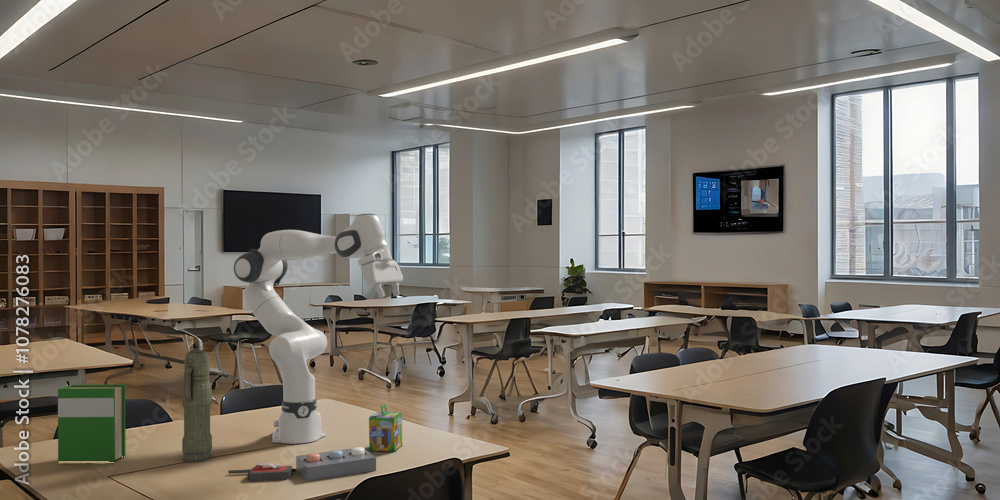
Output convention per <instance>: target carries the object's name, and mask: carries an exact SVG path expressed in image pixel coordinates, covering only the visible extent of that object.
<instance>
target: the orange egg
mask: <svg viewBox="0 0 1000 500" xmlns="http://www.w3.org/2000/svg"><path fill="white" fill-rule="evenodd" d="M318 453H319V452H317V453H316V452H312V453H308V454H305V455H306V462H307V463H312V462H319V461H320V454H318Z"/></svg>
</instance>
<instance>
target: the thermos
mask: <svg viewBox="0 0 1000 500" xmlns="http://www.w3.org/2000/svg"><path fill="white" fill-rule="evenodd" d="M183 361H184V362H183V363H184V365H183V366H184V367H183V368H184V372H183V373H184V376H183V377H184V381H183V387H182V389H181V390H182V396H181V398H182V408H183V432H184V433H183V437H182V441H181V447H182V448H181V449H182V451H181V452H182V461H183V462H186V463H197V462H205V461H208V460H210V459H211V458H212V449H213V436H212V432H211V406H212V405H211V404H212V403H213V402H212V400H213V399H212V398H213V397H212V396H213V395H212V393H213V392H212V390H213V389H212V385H211V381H210V380H211V379H210V372H211V371H210V369H211V368H210V356H209V353H208V351H205V350H203V349H202V350H201V349H200V350H199V349H197V350H189V352H187V353H186V355H185V357H184V360H183Z"/></svg>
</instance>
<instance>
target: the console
mask: <svg viewBox="0 0 1000 500" xmlns="http://www.w3.org/2000/svg"><path fill="white" fill-rule="evenodd" d="M352 448H353V447H352ZM352 448H344V449H340V450H341V451H343V458H340V459H333V460H330V459H329V452H330V451H331V450H330V451H323V452H317V453H318V454H320V461H319V462H312V463H307V462H306V455H307V454H300V455H296V456H295V466H296V467H295V469H296V470H297V472H298V473H299V474H300V475H301V476H302V478H304V479H305V481H306V482H310V481H311V482H312V481H317V480H323V479H330V478H337V477H343V476H350V475H356V474H362V473H369V472H376V471H377V457H376V456H375V455H373V454H372V453H371V452H370V451H369V450H367V449H366V448H364V455H361V456H354V457H353V456H352V455H351V449H352Z"/></svg>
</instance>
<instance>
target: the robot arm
mask: <svg viewBox="0 0 1000 500" xmlns="http://www.w3.org/2000/svg"><path fill="white" fill-rule="evenodd" d="M385 235H386V234H385V231H384V228H383V225H382V222H381V221H380V219H379V217H378V216H377V214H374V213H362V214H358V215H356V216H355V217H354V219H353V221H352V222H351V223H350V225H349V226H348V227H346V229H344V230H343V231H341V232H339V233H338V234H337V235H336V236H333V235H325V234H320V233H315V232H310V231H304V230H300V229H281V230H274V231H272V232H270V231H269V232H267V233H266V234H264V235H263V236H262V238H261V240H260V247H259V248H258V249H255V248H252V249H249V251H246V252H245V253H243V254H241V255H240V256H239V257H237V259H235V261H234V264H233V272H234V275H235V277H236V278H237V279H238V280H239V281H240V282H241V281H242V282H244V283H249V284H247V286H245V288H244V290H243V295H242V296H243V299H244V300H245V303H246V305H247V306H248V308H249V310H250V311H251V313H252V314H253V315H254V317H255V318H256V319H257V321H258V322H259V323H260V324H261V326H262V327H263V328H264V329H265V331H266V332H267V333H269V334H271V335H273V336H275V337H273V338H272V340H271V341H270V343H269V346H268V352H269V356H270V358H271V360H273V361H274V362H275V363H276V364H277V366H278V367H279V370H280V373H281V378H282V386H283V387H282V389H283V390H282V391H283V393H282V394H283V399H282V401H281V412H280V414H279V417H278V419H277V420H273V428H276V429H274V430H272V434H271V437H272V441H271V442H272V443H274V444H275V443H277V444H278V443H282V444H288V445H289V444H294V445H295V444H306V443H311V442H315V441H318V440H320V439H321V438H324V437H326V436H327V435H326V432H324V431H322V417H321V413H320V412H318V410H317V408H318V406H317V404H318V403H317V398H316V378H315V377H316V376H314V374H313V373H311V372H310V370H309V367H308V364H307V361H308V360H312V359H316V358H317V357H318V356H320V355H322V354H323V353H324V352H325V351H326V350H327V347H328V338H327V336H326V334H325V333H324V332H323V331H321V330H319V329H316V328H315V327H312V326H311V325H309V324H308V323H307V322H305V320H303V319H301V318H300V317H298V315H296V314H295V313H294V312H293V311H292V310H291V308H289V306H288V305H287V304H286V303H285V302H284V300H283V299H282V298H281V297H280V295H279V294H278V293H277V292H276V291H275V289H274V287H278V285H279V284H280V283H281V280H282V279H284V277H285V275H286V274H287V272H288V269H289V268H288V265H289V264H288V262H287V261H298V260H304V259H309V258H314V257H318V256H323V255H329V254H338V256H340V257H341V258H346V259H358V260H357V262H358V266H360V271H361V274H362V277H363V280H364V283H365V284H366V285H367V286H368V287H370V286H373V288H374V290H375V291H376V292H377V294H378V298H385V297H386V296H387V295H386V291H385V290H384V289H383V288H382V286H383V285H391V287H392V294H393V295H392V296H393V297H397V296H399V295H400V287H399V286H400V284H399V283H401V282H403V281H404V275H403V273H402V271H401V269H400V266H399V264H398V262H397V261H396V260H395V259H394V258H393V257H392V254H391V250H390V247H389V244H388V243H387V241H386V239H385V237H386V236H385Z"/></svg>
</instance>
